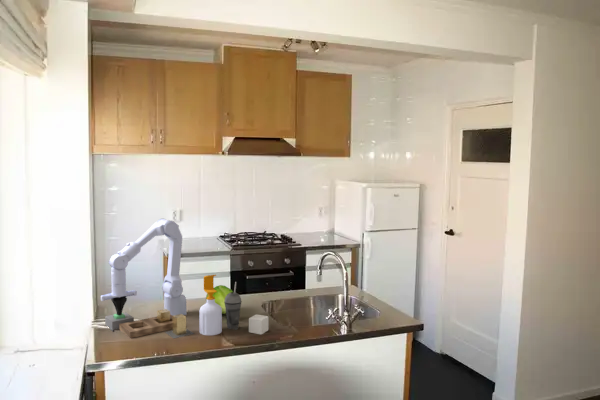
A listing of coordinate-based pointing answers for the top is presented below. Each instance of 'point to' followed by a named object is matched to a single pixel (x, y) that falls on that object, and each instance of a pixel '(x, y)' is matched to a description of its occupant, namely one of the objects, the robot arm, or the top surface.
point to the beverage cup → (233, 309)
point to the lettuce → (220, 296)
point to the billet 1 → (163, 316)
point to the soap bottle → (210, 311)
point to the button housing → (117, 321)
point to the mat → (178, 335)
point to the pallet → (145, 327)
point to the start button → (119, 316)
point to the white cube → (258, 324)
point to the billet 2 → (179, 324)
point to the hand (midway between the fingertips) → (119, 314)
